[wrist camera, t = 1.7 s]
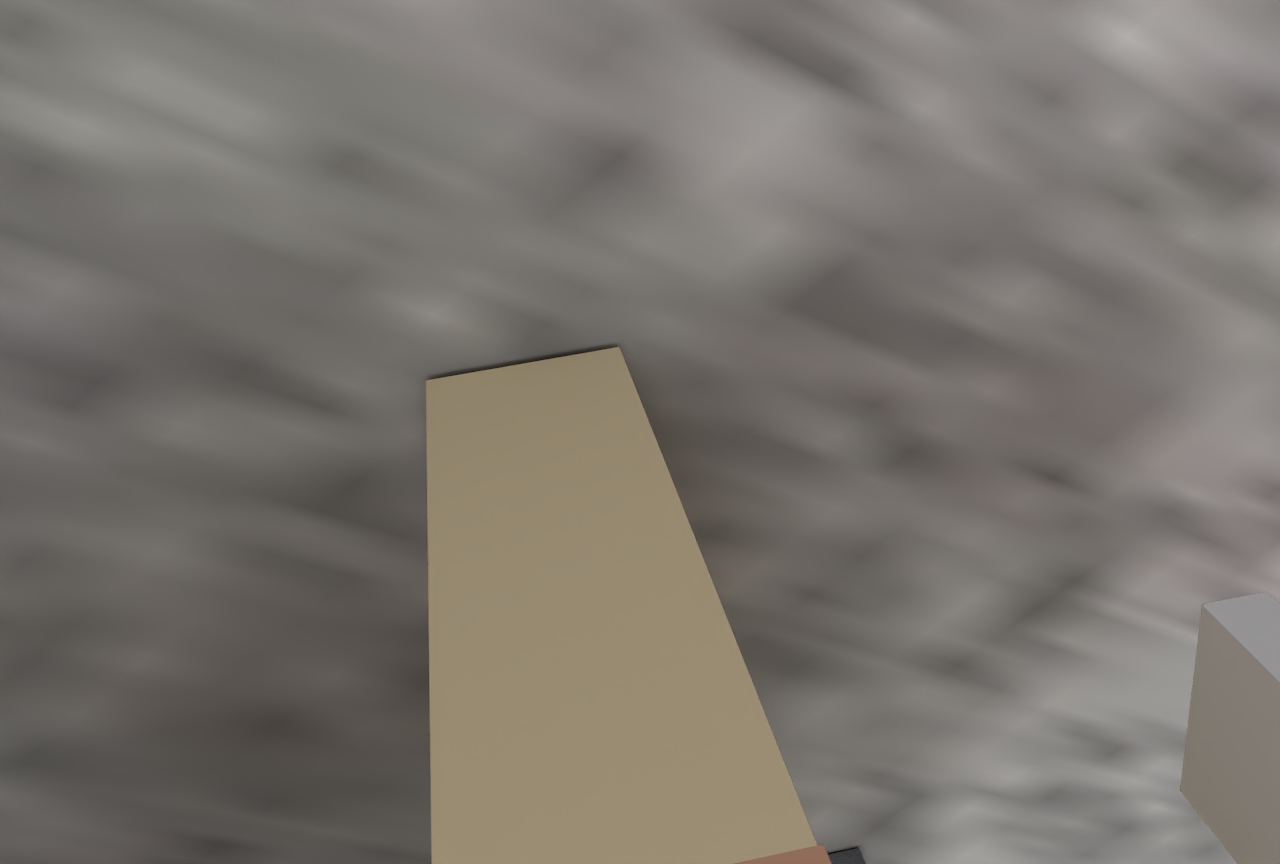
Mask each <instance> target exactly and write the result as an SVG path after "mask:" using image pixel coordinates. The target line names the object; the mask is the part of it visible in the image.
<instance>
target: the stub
mask: <svg viewBox="0 0 1280 864" xmlns="http://www.w3.org/2000/svg"><path fill="white" fill-rule="evenodd" d="M426 436H427V520H428V604H429V688H430V772H431V856H432V864H831V861H830V859H829V856H828V854H827V851H826V849H825V846H824V844H822V845H817V843H816V841H815V838H814V836H813V833H812V831H811V828H810V826H809V823H808V821H807V818H806V816H805V813H804V811H803V808H802V806H801V803H800V801H799V798H798V796H797V793H796V791H795V788H794V785H793V783H792V780H791V778H790V775H789V773H788V770H787V768H786V765H785V763H784V760H783V758H782V755H781V753H780V750H779V748H778V745H777V743H776V740H775V738H774V735H773V733H772V730H771V728H770V725H769V723H768V720H767V718H766V715H765V712H764V710H763V707H762V705H761V702H760V700H759V697H758V695H757V692H756V690H755V687H754V685H753V682H752V680H751V677H750V675H749V672H748V670H747V667H746V665H745V662H744V660H743V657H742V655H741V652H740V650H739V647H738V644H737V642H736V639H735V637H734V634H733V632H732V629H731V627H730V624H729V622H728V619H727V617H726V614H725V612H724V609H723V607H722V604H721V602H720V599H719V597H718V594H717V592H716V589H715V587H714V584H713V582H712V579H711V577H710V574H709V571H708V569H707V566H706V564H705V561H704V559H703V556H702V554H701V551H700V549H699V546H698V544H697V541H696V539H695V536H694V534H693V531H692V529H691V526H690V524H689V521H688V519H687V516H686V514H685V511H684V509H683V506H682V503H681V501H680V498H679V496H678V493H677V491H676V488H675V486H674V483H673V481H672V478H671V476H670V473H669V471H668V468H667V466H666V463H665V461H664V458H663V456H662V453H661V451H660V448H659V446H658V443H657V441H656V438H655V436H654V433H653V430H652V428H651V425H650V423H649V420H648V418H647V415H646V413H645V410H644V408H643V405H642V403H641V400H640V398H639V395H638V393H637V390H636V388H635V385H634V383H633V380H632V378H631V375H630V373H629V370H628V368H627V365H626V363H625V360H624V357H623V355H622V352H621V350H620V347H616V348H610V349H604V350H598V351H593V352H587V353H581V354H575V355H570V356H564V357H558V358H552V359H547V360H541V361H535V362H529V363H524V364H518V365H512V366H506V367H501V368H495V369H489V370H483V371H478V372H472V373H466V374H460V375H455V376H449V377H443V378H437V379H432V380H426Z"/></svg>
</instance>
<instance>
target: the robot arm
mask: <svg viewBox="0 0 1280 864" xmlns="http://www.w3.org/2000/svg"><path fill="white" fill-rule="evenodd" d="M1180 791H1181V792H1182V793H1183V795H1184V796H1185V797H1186V798H1187V800H1188V801H1189V802H1190V803H1191V805H1192V806H1193V807H1194V809H1195V810H1196V811H1197V812H1198V814H1199V815H1200V816H1201V818H1202V819H1203V820H1204V821H1205V823H1206V824H1207V825H1208V826H1209V828H1210V829H1211V830H1212V832H1213V833H1214V834H1215V835H1216V837H1217V838H1218V839H1219V840H1220V842H1221V843H1222V844H1223V846H1224V847H1225V848H1226V849H1227V851H1228V852H1229V853H1230V855H1231V856H1232V857H1233V858H1234V860H1235V861H1236V862H1237V863H1238V864H1280V603H1279V602H1278V601H1276V600H1275V599H1274V598H1273V597H1272V596H1271V595H1270V594H1269V593H1268V592H1263V593H1258V594H1253V595H1248V596H1243V597H1238V598H1233V599H1227V600H1222V601H1217V602H1212V603H1207V604H1202V609H1201V617H1200V626H1199V634H1198V643H1197V651H1196V659H1195V668H1194V676H1193V685H1192V693H1191V702H1190V710H1189V718H1188V727H1187V735H1186V744H1185V752H1184V761H1183V769H1182V778H1181V786H1180Z"/></svg>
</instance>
